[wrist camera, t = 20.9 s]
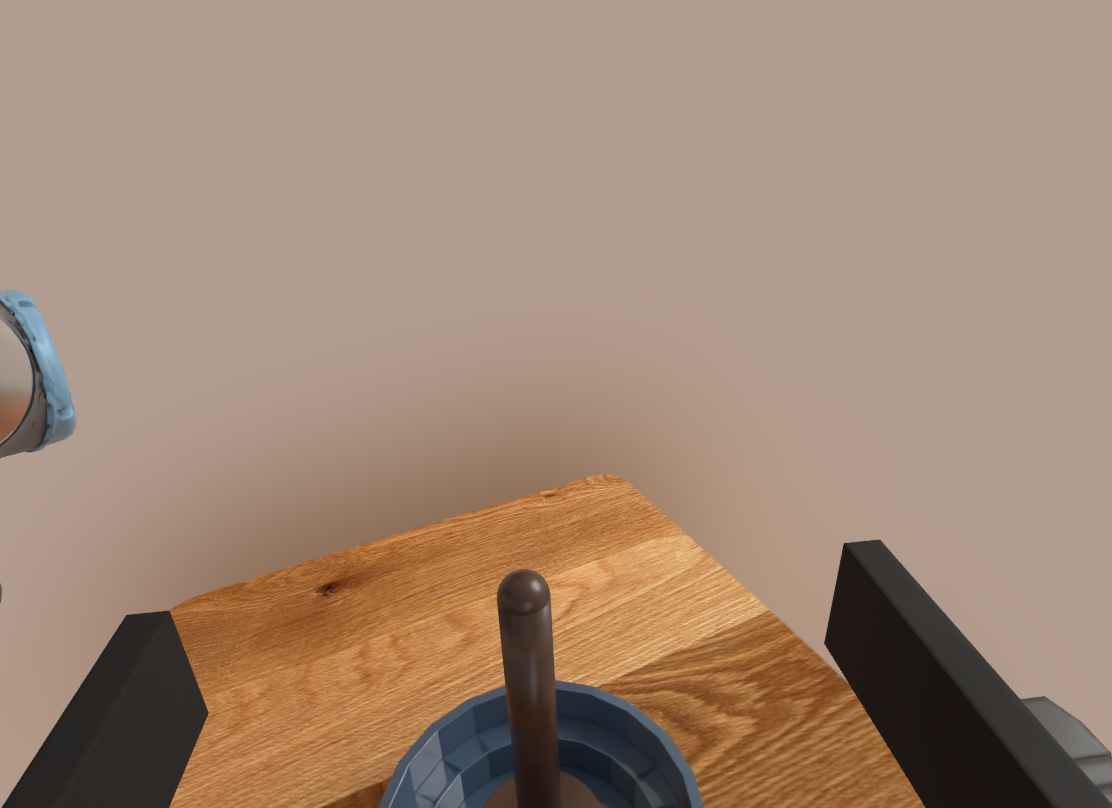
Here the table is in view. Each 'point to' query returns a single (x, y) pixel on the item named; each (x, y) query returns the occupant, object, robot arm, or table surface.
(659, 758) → the bowl
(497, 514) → the table surface
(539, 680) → the joystick lever
